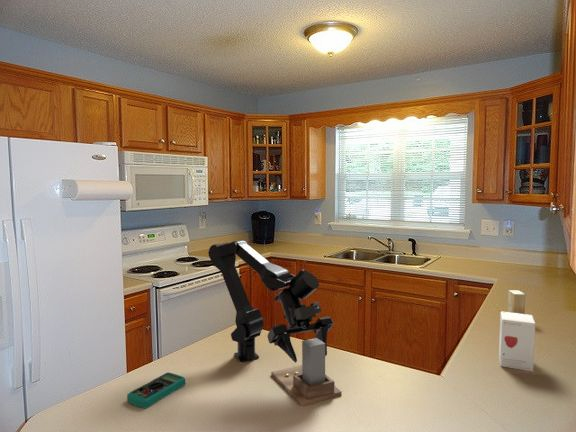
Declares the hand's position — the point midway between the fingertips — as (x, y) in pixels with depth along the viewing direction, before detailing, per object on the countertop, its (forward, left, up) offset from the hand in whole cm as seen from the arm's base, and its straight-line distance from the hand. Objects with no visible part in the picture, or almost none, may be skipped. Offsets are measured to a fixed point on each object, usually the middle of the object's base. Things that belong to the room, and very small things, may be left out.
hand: (311, 358), depth 109 cm
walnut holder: (-4, 0, -9) cm, 10 cm away
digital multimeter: (-18, -37, -10) cm, 43 cm away
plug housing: (+1, 0, -8) cm, 8 cm away
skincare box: (-11, +102, -9) cm, 103 cm away
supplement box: (+14, +65, -9) cm, 67 cm away
